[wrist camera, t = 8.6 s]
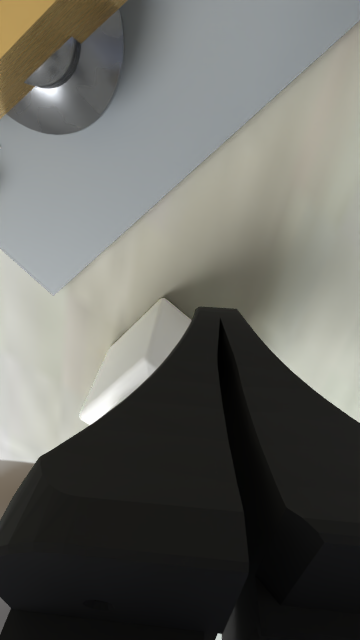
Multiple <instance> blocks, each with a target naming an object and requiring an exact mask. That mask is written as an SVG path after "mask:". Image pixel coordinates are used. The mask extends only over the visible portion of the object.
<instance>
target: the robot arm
mask: <svg viewBox="0 0 360 640" xmlns="http://www.w3.org/2000/svg"><path fill="white" fill-rule="evenodd" d="M0 597H1V598H2V599H3V600H4V601H5V602H6V603H7V604H8V605H9V606H10V607H11V610H10V612H9V615H8V617H7V620H6V622H5V624H4V627H3V629H2V632H1V634H0V640H215V639H216V636H217V633H220V634H222V640H360V423H359V422H357V421H356V420H354V419H353V418H351V417H350V416H348V415H347V414H346V413H344V412H343V411H341V410H340V409H339V408H337V407H336V406H334V405H333V404H332V403H330V402H329V401H327V400H326V399H325V398H323V397H322V396H321V395H320V394H318V393H317V392H316V391H314V390H313V389H312V388H311V387H310V386H308V385H307V384H306V383H305V382H304V381H303V380H301V379H300V378H299V377H298V376H297V375H295V374H294V373H293V372H292V371H291V370H290V369H289V368H288V367H287V366H286V365H285V364H284V363H283V362H282V361H281V360H280V359H279V358H278V357H277V356H276V355H275V354H274V353H273V352H272V351H271V350H270V349H269V348H268V347H267V346H266V345H265V344H264V342H263V341H262V340H261V339H260V338H259V337H258V335H257V334H256V333H255V332H254V331H253V329H252V328H251V327H250V325H249V324H248V323H247V322H246V320H245V319H244V318H243V316H242V315H241V314H240V312H239V311H238V310H237V309H228V308H212V307H198V308H197V309H196V310H195V314H194V317H193V319H192V321H191V323H190V325H189V327H188V328H187V330H186V331H185V333H184V335H183V336H182V338H181V339H180V341H179V342H178V344H177V345H176V346H175V348H174V349H173V350H172V351H171V353H170V354H169V355H168V357H167V358H166V359H165V360H164V361H163V363H162V364H161V365H160V366H159V367H158V368H157V369H156V370H155V371H154V372H153V373H152V374H151V375H150V376H149V377H148V378H147V379H146V380H145V381H144V382H143V383H142V384H141V385H140V386H139V387H138V388H137V389H136V390H135V391H133V392H132V393H131V394H130V395H129V396H128V397H126V398H125V399H124V400H123V401H122V402H120V403H119V404H118V405H116V406H115V407H114V408H112V409H111V410H110V411H108V412H107V413H106V414H104V415H103V416H102V417H101V418H99V419H98V420H97V421H95V422H94V423H92V424H91V425H90V426H88V427H87V428H85V429H84V430H82V431H81V432H79V433H77V434H76V435H74V436H73V437H71V438H70V439H68V440H66V441H65V442H63V443H62V444H60V445H59V446H57V447H55V448H54V449H52V450H51V451H49V452H47V453H46V454H44V455H42V456H40V457H39V458H38V460H37V461H36V463H35V464H34V466H33V467H32V469H31V470H30V472H29V474H28V475H27V477H26V478H25V479H24V481H23V482H22V484H21V485H20V487H19V488H18V490H17V491H16V493H15V495H14V496H13V498H12V500H11V501H10V503H9V505H8V507H7V509H6V511H5V513H4V515H3V516H2V518H1V520H0Z"/></svg>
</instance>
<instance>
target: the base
mask: <svg viewBox="0 0 360 640" xmlns="http://www.w3.org/2000/svg"><path fill="white" fill-rule="evenodd" d="M120 9H121V13H122V18H123V26H124V36H125V54H124V65H123V71H122V76H121V80H120V83H119V87H118V90H117V92H116V94H115V97H114V99H113V101H112V102H111V104H110V106H109V108H108V109H107V110H106V112H105V113H104V114H103V115H102V117H100V118H99V119H98V120H97V121H96V122H95V123H94V124H92V125H91V126H89V127H88V128H86V129H84V130H82V131H80V132H76V133H73V134H66V135H53V134H45V133H41V132H37V131H34V130H32V129H29V128H27V127H25V126H23V125H21V124H19V123H18V122H16V121H15V120H13V119H12V118H11V117H9V116H8V115H7V114H5V115H4V116H3V117H2V118H1V119H0V249H1V250H2V251H3V252H4V253H6V254H7V255H8V256H9V257H10V258H11V259H12V260H13V261H15V262H16V263H17V264H18V265H19V266H20V267H21V268H22V269H24V270H25V271H26V272H27V273H28V274H29V275H30V276H31V277H33V278H34V279H35V280H36V281H37V282H38V283H39V284H40V285H42V286H43V287H44V288H45V289H46V290H47V291H48V292H50V293H51V294H52V295H53V296H54V295H55V294H56V293H57V292H58V291H59V290H60V289H61V288H63V287H64V286H65V285H66V284H67V283H68V282H69V281H70V280H71V279H73V278H74V277H75V276H76V275H77V274H78V273H79V272H80V271H81V270H83V269H84V268H85V267H86V266H87V265H88V264H89V263H90V262H91V261H93V260H94V259H95V258H96V257H97V256H98V255H99V254H100V253H101V252H103V251H104V250H105V249H106V248H107V247H108V246H109V245H110V244H111V243H113V242H114V241H115V240H116V239H117V238H118V237H119V236H120V235H122V234H123V233H124V232H125V231H126V230H127V229H128V228H129V227H130V226H132V225H133V224H134V223H135V222H136V221H137V220H138V219H139V218H140V217H142V216H143V215H144V214H145V213H146V212H147V211H148V210H149V209H150V208H152V207H153V206H154V205H155V204H156V203H157V202H158V201H159V200H160V199H162V198H163V197H164V196H165V195H166V194H167V193H168V192H169V191H170V190H172V189H173V188H174V187H175V186H176V185H177V184H178V183H179V182H180V181H182V180H183V179H184V178H185V177H186V176H187V175H188V174H189V173H190V172H192V171H193V170H194V169H195V168H196V167H197V166H198V165H199V164H200V163H202V162H203V161H204V160H205V159H206V158H207V157H208V156H209V155H210V154H212V153H213V152H214V151H215V150H216V149H217V148H218V147H219V146H220V145H222V144H223V143H224V142H225V141H226V140H227V139H228V138H229V137H230V136H232V135H233V134H234V133H235V132H236V131H237V130H238V129H239V128H240V127H242V126H243V125H244V124H245V123H246V122H247V121H248V120H249V119H250V118H252V117H253V116H254V115H255V114H256V113H257V112H258V111H259V110H260V109H262V108H263V107H264V106H265V105H266V104H267V103H268V102H269V101H270V100H272V99H273V98H274V97H275V96H276V95H277V94H278V93H279V92H280V91H282V90H283V89H284V88H285V87H286V86H287V85H288V84H289V83H290V82H292V81H293V80H294V79H295V78H296V77H297V76H298V75H299V74H300V73H302V72H303V71H304V70H305V69H306V68H307V67H308V66H309V65H310V64H312V63H313V62H314V61H315V60H316V59H317V58H318V57H319V56H320V55H322V54H323V53H324V52H325V51H326V50H327V49H328V48H329V47H330V46H332V45H333V44H334V43H335V42H336V41H337V40H338V39H339V38H340V37H342V36H343V35H344V34H345V33H346V32H347V31H348V30H349V29H351V28H352V27H353V26H354V25H355V24H356V23H357V22H358V21H359V20H360V0H127V1H126V2H125V3H124V4H123V5H122V6H121V7H120Z"/></svg>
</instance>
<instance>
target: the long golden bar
mask: <svg viewBox="0 0 360 640" xmlns="http://www.w3.org/2000/svg"><path fill="white" fill-rule="evenodd" d="M126 1H127V0H0V119H1V118H2V117H3V116H4V115H5V114H7V115H8V116H9V117H11V118H12V119H13V120H15V121H16V122H18V123H19V124H21V125H23V126H25V127H27V128H29V129H32V130H34V131H37V132H41V133H45V134H53V135H66V134H73V133H76V132H80V131H82V130H84V129H86V128H88V127H89V126H91V125H92V124H94V123H95V122H96V121H97V120H98V119H99V118H100V117H102V115H103V114H104V113H105V112H106V110H107V109H108V108H109V106H110V104H111V102H112V101H113V99H114V97H115V94H116V92H117V90H118V87H119V83H120V80H121V76H122V71H123V65H124V54H125V36H124V26H123V18H122V13H121V9H120V7H121V6H122V5H123V4H124V3H125V2H126Z"/></svg>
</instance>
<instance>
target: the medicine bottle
mask: <svg viewBox="0 0 360 640" xmlns="http://www.w3.org/2000/svg"><path fill="white" fill-rule="evenodd" d="M191 321H192V320H191V319H190V318H189V317H187V316H186V315H185V314H184V313H182V312H181V311H180V310H179V309H178V308H176V307H175V306H174V305H173V304H172V303H170V302H169V301H168V300H167V299H165V298H161V299H159V300H158V301H157V302H156V303H155V304H154V305H153V306H152V307H151V308H150V309H149V310H148V311H147V312H146V313H145V314H144V315H143V316H142V317H141V318H140V319H139V320H138V321H137V322H136V323H135V324H134V325H133V326H132V327H131V328H130V329H129V330H128V331H127V332H126V333H125V334H124V335H123V336H122V337H121V338H119V339H118V340H117V341H116V342H115V343H114V344H113V345H112V346H111V347H110V348H109V350H108V352H107V354H106V356H105V358H104V360H103V363H102V365H101V367H100V369H99V371H98V374H97V376H96V378H95V380H94V382H93V385H92V387H91V389H90V391H89V393H88V396H87V398H86V400H85V402H84V404H83V407H82V409H81V411H80V413H79V417H80V419H81V420H82V421H84V422H86V423H87V424H89V425H91V424H92V423H94V422H95V421H97V420H98V419H99V418H101V417H102V416H103V415H104V414H106V413H107V412H108V411H110V410H111V409H112V408H114V407H115V406H116V405H118V404H119V403H120V402H122V401H123V400H124V399H125V398H126V397H128V396H129V395H130V394H131V393H132V392H133V391H135V390H136V389H137V388H138V387H139V386H140V385H141V384H142V383H143V382H144V381H145V380H146V379H147V378H148V377H149V376H150V375H151V374H152V373H153V372H154V371H155V370H156V369H157V368H158V367H159V366H160V365H161V364H162V363H163V361H164V360H165V359H166V358H167V357H168V355H169V354H170V353H171V351H172V350H173V349H174V348H175V346H176V345H177V344H178V342H179V341H180V339H181V338H182V336H183V335H184V333H185V331H186V330H187V328H188V327H189V325H190V323H191Z"/></svg>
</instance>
